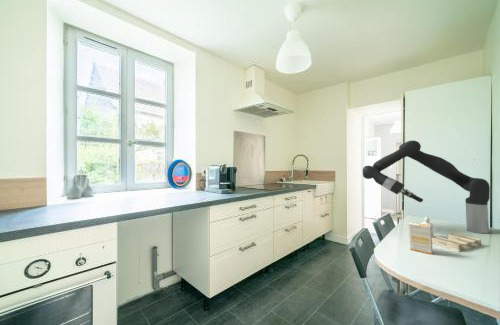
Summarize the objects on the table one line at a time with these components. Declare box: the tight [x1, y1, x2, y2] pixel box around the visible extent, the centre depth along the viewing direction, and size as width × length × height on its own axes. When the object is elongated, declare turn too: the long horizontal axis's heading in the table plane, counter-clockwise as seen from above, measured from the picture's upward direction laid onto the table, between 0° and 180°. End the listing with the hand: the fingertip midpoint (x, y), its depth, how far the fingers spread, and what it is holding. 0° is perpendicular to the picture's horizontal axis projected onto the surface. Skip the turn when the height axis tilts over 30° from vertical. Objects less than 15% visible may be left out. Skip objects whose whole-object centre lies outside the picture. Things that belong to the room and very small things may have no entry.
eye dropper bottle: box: [420, 215, 435, 238], centre depth 118 cm, size 4×6×12 cm
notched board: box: [432, 232, 482, 253], centre depth 106 cm, size 20×11×3 cm, turn 110°
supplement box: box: [408, 221, 433, 255], centre depth 99 cm, size 8×5×13 cm, turn 43°
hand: (421, 200), depth 118 cm, fingers open, 8 cm apart
